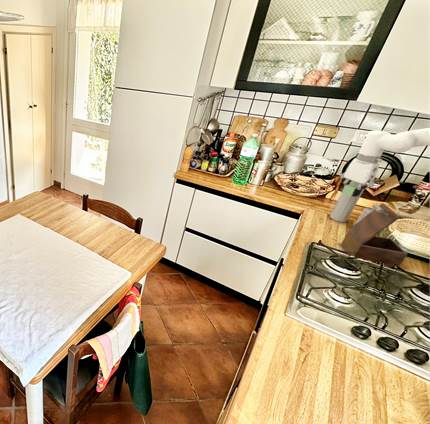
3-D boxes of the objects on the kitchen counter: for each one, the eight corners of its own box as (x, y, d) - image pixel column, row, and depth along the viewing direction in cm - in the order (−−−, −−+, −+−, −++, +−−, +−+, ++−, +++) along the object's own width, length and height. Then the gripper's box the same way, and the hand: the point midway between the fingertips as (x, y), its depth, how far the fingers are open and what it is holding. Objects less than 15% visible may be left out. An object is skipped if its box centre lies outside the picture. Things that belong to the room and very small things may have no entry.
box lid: (384, 203, 131) (373, 197, 131) (401, 217, 120) (388, 210, 121) (349, 230, 140) (339, 225, 140) (362, 245, 130) (351, 239, 130)
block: (357, 195, 148) (361, 187, 146) (350, 196, 147) (354, 188, 145) (347, 192, 152) (352, 184, 150) (341, 193, 151) (345, 184, 149)
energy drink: (364, 229, 157) (377, 209, 151) (367, 234, 153) (380, 213, 147) (351, 226, 159) (363, 206, 154) (353, 231, 155) (365, 210, 150)
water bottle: (346, 219, 166) (370, 176, 154) (345, 224, 161) (370, 180, 149) (325, 213, 172) (347, 171, 160) (324, 218, 167) (345, 175, 155)
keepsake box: (382, 252, 139) (391, 238, 135) (397, 269, 129) (408, 254, 125) (340, 245, 144) (348, 231, 140) (351, 260, 134) (360, 245, 130)
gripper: (395, 163, 135) (374, 200, 143) (354, 152, 149) (337, 186, 158) (382, 164, 133) (362, 202, 142) (342, 153, 147) (326, 188, 156)
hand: (349, 193), depth 149 cm, fingers closed on block, 4 cm apart
